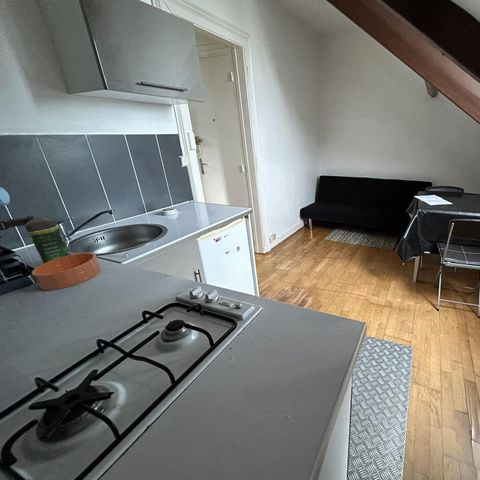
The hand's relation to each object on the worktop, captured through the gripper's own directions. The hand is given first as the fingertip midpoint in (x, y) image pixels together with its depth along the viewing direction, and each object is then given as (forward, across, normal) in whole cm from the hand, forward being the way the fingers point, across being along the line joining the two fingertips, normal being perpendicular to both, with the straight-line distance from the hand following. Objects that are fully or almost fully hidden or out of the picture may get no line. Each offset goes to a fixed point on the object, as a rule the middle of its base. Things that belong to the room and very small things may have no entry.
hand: (21, 227), depth 96 cm
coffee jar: (+10, 0, -15) cm, 18 cm away
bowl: (+26, +9, -15) cm, 31 cm away
